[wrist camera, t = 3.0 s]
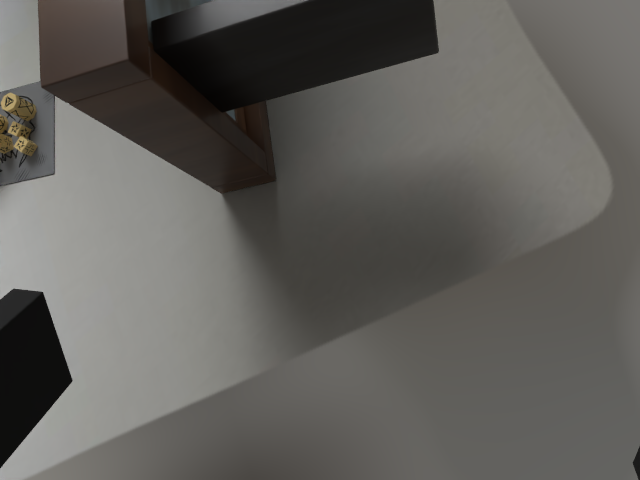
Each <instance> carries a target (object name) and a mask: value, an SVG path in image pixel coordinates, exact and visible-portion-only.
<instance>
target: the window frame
mask: <svg viewBox="0 0 640 480" xmlns="http://www.w3.org/2000/svg"><path fill="white" fill-rule="evenodd" d="M38 15H39V46H40V78H41V88H43V89H44V90H46V91H48V92H49V93H51V94H53V95H54V96H56V97H58V98H60V99H61V100H63V101H65V102H66V103H69V104H70V105H72V106H73V107H75V108H77V109H78V110H80V111H82V112H84V113H85V114H87V115H89V116H90V117H92V118H94V119H96V120H97V121H99V122H101V123H102V124H104V125H106V126H107V127H109V128H111V129H113V130H114V131H116V132H118V133H119V134H121V135H123V136H125V137H126V138H128V139H130V140H131V141H133V142H135V143H136V144H138V145H140V146H142V147H143V148H145V149H147V150H148V151H150V152H152V153H153V154H155V155H157V156H159V157H160V158H162V159H164V160H165V161H167V162H169V163H171V164H172V165H174V166H176V167H177V168H179V169H181V170H182V171H184V172H186V173H188V174H189V175H191V176H193V177H194V178H196V179H198V180H200V181H201V182H203V183H205V184H206V185H208V186H210V187H211V188H213V189H214V190H216V191H218V192H220V193H226V192H230V191H234V190H239V189H243V188H247V187H251V186H255V185H259V184H264V183H268V182H272V181H276V175H275V167H274V160H273V153H272V145H271V138H270V130H269V123H268V115H267V108H266V101H263V102H259V103H255V104H252V105H248V106H245V107H244V115H245V123H246V131H247V136H246V135H245V134H244V133H243V132H242V131H241V130H240V129H239V128H238V127H237V126H235V125H234V124H233V123H232V122H231V121H230V120H229V119H228V118H227V117H226V116H224V115H223V114H222V113H221V112H220V111H219V110H218V109H217V108H216V107H215V106H213V105H212V104H211V103H210V102H209V101H208V100H207V99H206V98H205V97H204V96H203V95H201V94H200V93H199V92H198V91H197V90H196V89H195V88H194V87H193V86H192V85H190V84H189V83H188V82H187V81H186V80H185V79H184V78H183V77H182V76H181V75H179V74H178V73H177V72H176V71H175V70H174V69H173V68H172V67H171V66H170V65H168V64H167V63H166V62H165V61H164V60H163V59H162V58H161V57H160V56H159V55H157V54H156V53H155V52H154V51H153V50H152V49H151V48H150V47H148V41H147V29H146V17H145V4H144V0H38Z"/></svg>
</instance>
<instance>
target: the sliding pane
mask: <svg viewBox="0 0 640 480" xmlns="http://www.w3.org/2000/svg"><path fill="white" fill-rule="evenodd" d="M144 4H145V17H146V29H147V41H148V47H150V48H151V49H152V50H153V51H154V52H155V53H156V54H157V55H159V56H160V57H161V58H162V59H163V60H164V61H165V62H166V63H167V64H168V65H170V66H171V67H172V68H173V69H174V70H175V71H176V72H177V73H178V74H179V75H181V76H182V77H183V78H184V79H185V80H186V81H187V82H188V83H189V84H190V85H192V86H193V87H194V88H195V89H196V90H197V91H198V92H199V93H200V94H201V95H203V96H204V97H205V98H206V99H207V100H208V101H209V102H210V103H211V104H212V105H213V106H215V107H216V108H217V109H218V110H219V111H220V112H221V113H222V114H223V115H224V116H226V117H227V118H228V119H229V120H230V121H231V122H232V123H233V124H234V125H235V126H237V127H238V128H239V129H240V130H241V131H242V132H243V133H244V134H245V135H246V136H247V131H246V123H245V115H244V107H245V106H248V105H252V104H255V103H259V102H263V101H266V100H270V99H273V98H277V97H281V96H284V95H288V94H292V93H295V92H299V91H302V90H306V89H310V88H313V87H317V86H320V85H324V84H328V83H331V82H335V81H338V80H342V79H346V78H349V77H353V76H356V75H360V74H364V73H367V72H371V71H374V70H378V69H382V68H385V67H389V66H392V65H396V64H400V63H403V62H407V61H411V60H414V59H418V58H421V57H425V56H429V55H432V54H436V53H438V52H439V47H438V38H437V29H436V20H435V11H434V2H433V0H144Z"/></svg>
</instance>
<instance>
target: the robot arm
mask: <svg viewBox="0 0 640 480" xmlns="http://www.w3.org/2000/svg"><path fill="white" fill-rule="evenodd" d="M71 382H72V378H71V375H70V372H69V369H68V366H67V363H66V360H65V357H64V354H63V351H62V348H61V345H60V342H59V339H58V336H57V333H56V330H55V327H54V324H53V321H52V318H51V315H50V312H49V309H48V306H47V303H46V300H45V297H44V294H43V292H38V291H29V290H20V289H13V290H11V291H10V292H9V293H8V294H7V295H5V296H4V297H3V298H2V299H0V468H1V467H2V466H3V464H4V463H5V462H6V461H7V459H8V458H9V457H10V456H11V455H12V453H13V452H14V451H15V450H16V449H17V447H18V446H19V445H20V444H21V443H22V441H23V440H24V439H25V438H26V437H27V435H28V434H29V433H30V432H31V431H32V429H33V428H34V427H35V426H36V425H37V423H38V422H39V421H40V420H41V419H42V417H43V416H44V415H45V414H46V412H47V411H48V410H49V409H50V408H51V406H52V405H53V404H54V403H55V402H56V400H57V399H58V398H59V397H60V396H61V394H62V393H63V392H64V391H65V390H66V388H67V387H68V386H69V385H70V384H71ZM633 465H634V468H635V471H636V473H637V476H638V479H639V480H640V447H639V449H638V452H637V454H636V457H635V459H634V461H633Z"/></svg>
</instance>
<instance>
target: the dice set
mask: <svg viewBox="0 0 640 480" xmlns="http://www.w3.org/2000/svg"><path fill="white" fill-rule="evenodd" d="M0 106H1V109H2V110H3V111H5V112H7V113H9V114H11V115H13V116H16V117H18V118H20V119H22V120H24V121H26V122H27V121H29V120H31V119H32V118H33V117H34V115H35V113H36V111H37V109H36V105H35V104H34V103H32V102H30V101H28V100H26V99H25V98H23V97H21V96H19V95H17V94H15V93H13V92H8V93H6V94H5V95H4V96H3V97H2V99H1V101H0ZM7 126H8V120H7V117H6V116H5V115H2V114H0V153H1V154H3V155H4V154H5V153H7V152H9V151H10V150H13V149H14V148H15V149H16V150H18V151H19V152H20V153H22V154H24V155H27V156H29V157H31V156H32V155H33V153H34V152H35V150H36V148H37V147H38V145H37V144H36V143H34V142H33V141H32V140H31V139H29V138H28V135H29V133H30V131H31V130H32V129H31V128H30V127H27V126H25V125H23V124H21V123H19V122H17V121H14V120H13V121H12V122H11V124H10V126H9V128H8V130H7V133H8V134H10V135H13V136H15V137H17V138H18V139H17V140H16V142H15V143H14V145H13V140H12V138H11V137H10V136H8V135H6V134H3V133H2V132H4V131H5V130H6V129H7Z"/></svg>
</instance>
